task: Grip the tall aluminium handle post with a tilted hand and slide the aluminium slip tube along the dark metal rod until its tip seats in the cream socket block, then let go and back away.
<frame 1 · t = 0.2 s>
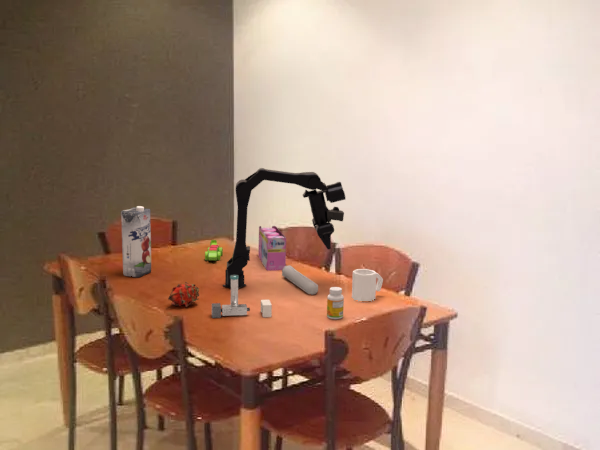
hand: (327, 246, 277), 15 cm above the table, tool pointing down, fingers open, 9 cm apart
socket block: (266, 308, 246), on the table
mug: (367, 298, 267), on the table
rod stand: (244, 315, 245), on the table
dragon fruit: (183, 306, 254), on the table
supplement bottle: (334, 317, 245), on the table
juice carton: (137, 274, 290), on the table
tube: (300, 287, 279), on the table
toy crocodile: (213, 258, 318), on the table
gum box: (271, 263, 311), on the table
slip tube: (234, 295, 243), point 7 cm above the table, slide at 0.0 cm
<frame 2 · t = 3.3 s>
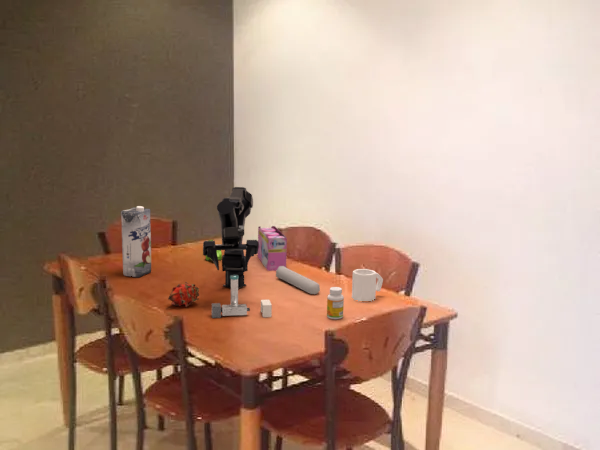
hand: (232, 269, 250), 14 cm above the table, tool tilted 45°, fingers open, 9 cm apart
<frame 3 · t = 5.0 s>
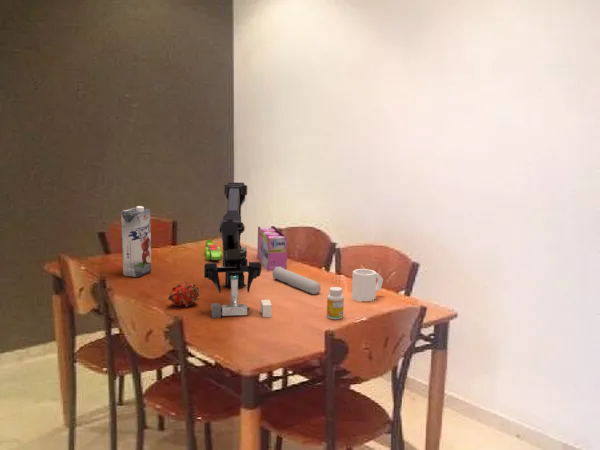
hand: (234, 292, 243), 8 cm above the table, tool tilted 45°, fingers open, 9 cm apart
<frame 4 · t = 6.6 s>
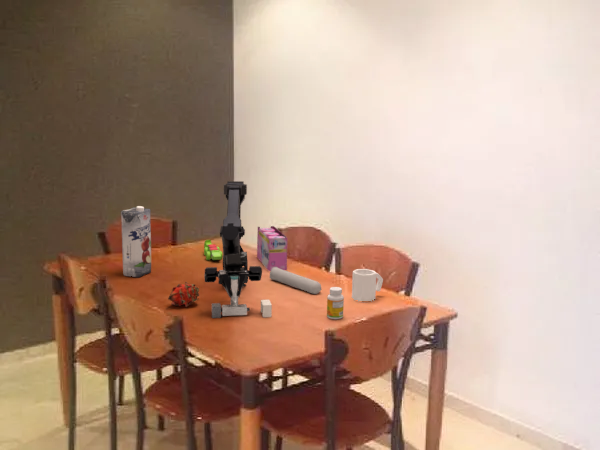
hand: (234, 296, 242), 7 cm above the table, tool tilted 45°, fingers closed on slip tube, 2 cm apart
slip tube: (234, 295, 243), point 7 cm above the table, slide at 0.0 cm, touching gripper
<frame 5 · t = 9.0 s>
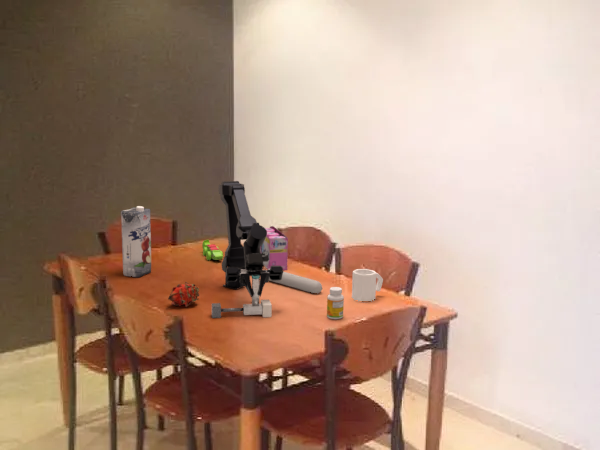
hand: (256, 296, 243), 7 cm above the table, tool tilted 45°, fingers closed on slip tube, 2 cm apart
slip tube: (255, 294, 244), point 7 cm above the table, slide at 7.0 cm, touching gripper
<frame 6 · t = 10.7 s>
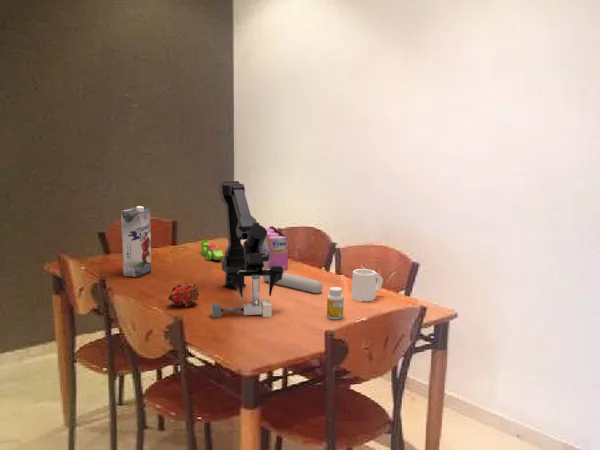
hand: (256, 296, 243), 7 cm above the table, tool tilted 45°, fingers open, 9 cm apart
slip tube: (255, 294, 244), point 7 cm above the table, slide at 7.0 cm
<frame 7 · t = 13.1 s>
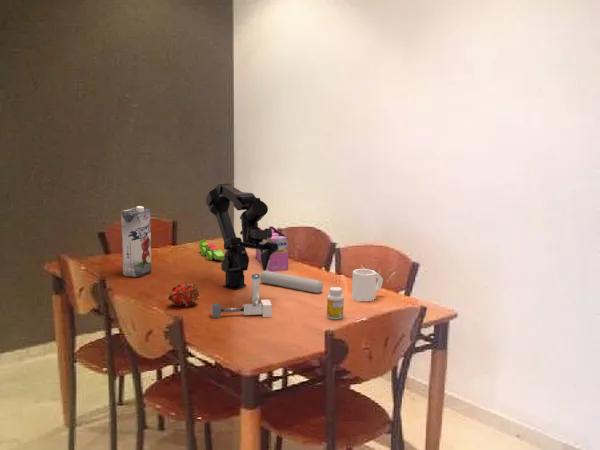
hand: (253, 269, 253), 13 cm above the table, tool tilted 35°, fingers open, 9 cm apart
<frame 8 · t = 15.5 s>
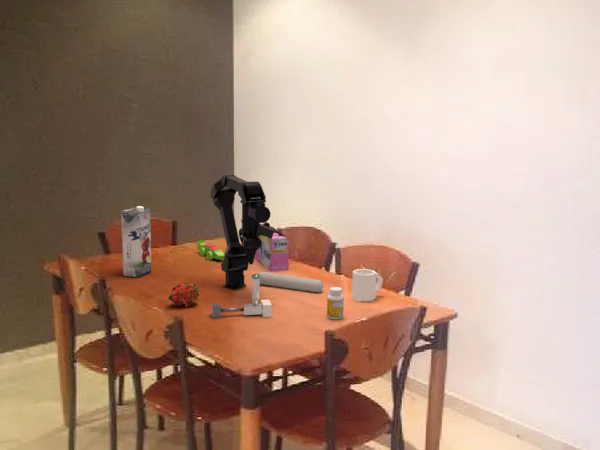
hand: (249, 260, 263), 13 cm above the table, tool pointing down, fingers open, 9 cm apart
at the end: slip tube slide at 7.0 cm; the gripper is holding nothing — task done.
